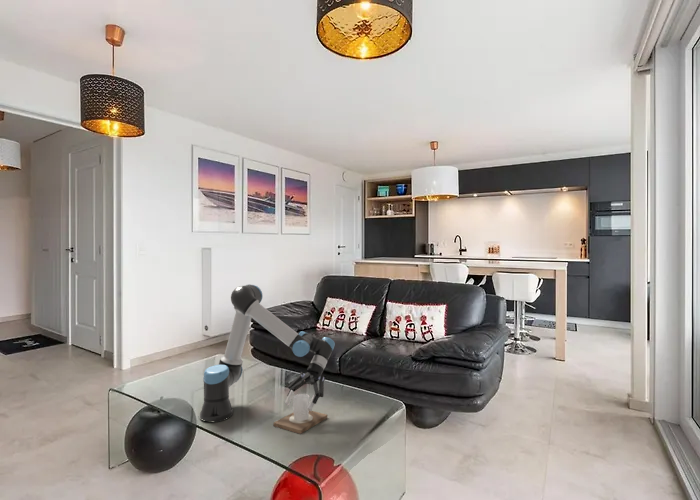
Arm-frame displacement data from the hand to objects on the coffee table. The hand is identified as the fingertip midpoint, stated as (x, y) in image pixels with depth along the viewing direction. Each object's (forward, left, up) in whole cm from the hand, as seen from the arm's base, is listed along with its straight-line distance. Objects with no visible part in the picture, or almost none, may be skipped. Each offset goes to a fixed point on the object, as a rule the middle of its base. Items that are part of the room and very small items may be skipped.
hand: (297, 406), depth 177 cm
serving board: (+2, 0, -8) cm, 8 cm away
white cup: (+2, 0, -6) cm, 7 cm away
